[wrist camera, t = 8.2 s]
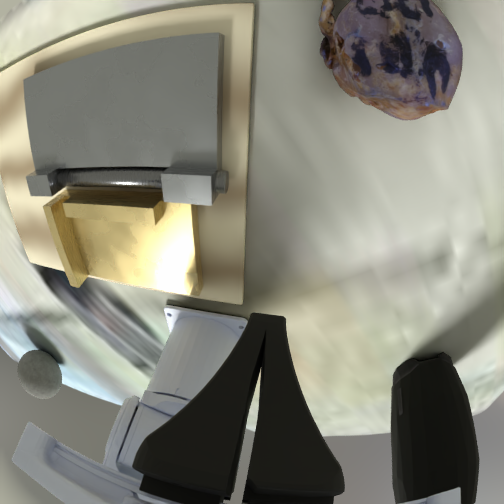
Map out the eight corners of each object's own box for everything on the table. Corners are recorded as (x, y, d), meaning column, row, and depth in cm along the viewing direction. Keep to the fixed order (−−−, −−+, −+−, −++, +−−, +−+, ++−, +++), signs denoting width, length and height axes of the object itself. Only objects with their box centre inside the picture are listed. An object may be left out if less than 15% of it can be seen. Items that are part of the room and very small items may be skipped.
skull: (322, -67, 7) (329, -116, 2) (440, -32, 7) (486, -57, 2) (310, 95, 14) (316, 104, 9) (428, 123, 14) (479, 151, 9)
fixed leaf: (229, 190, 18) (220, 206, 16) (45, 184, 20) (27, 196, 18) (233, 34, 12) (222, 28, 10) (30, 78, 14) (9, 83, 12)
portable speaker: (464, 360, 26) (489, 503, 10) (406, 393, 31) (413, 526, 15) (439, 337, 24) (469, 517, 8) (372, 376, 29) (373, 537, 13)
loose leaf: (203, 286, 23) (192, 312, 21) (87, 265, 24) (71, 285, 22) (196, 193, 18) (180, 215, 16) (65, 188, 19) (42, 205, 17)
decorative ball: (37, 354, 46) (17, 388, 38) (27, 332, 40) (3, 369, 32) (72, 377, 47) (53, 413, 39) (66, 358, 42) (43, 399, 34)
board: (243, 299, 24) (242, 305, 24) (33, 259, 27) (30, 262, 26) (254, 5, 11) (253, 3, 11) (-8, 79, 14) (-13, 80, 13)
